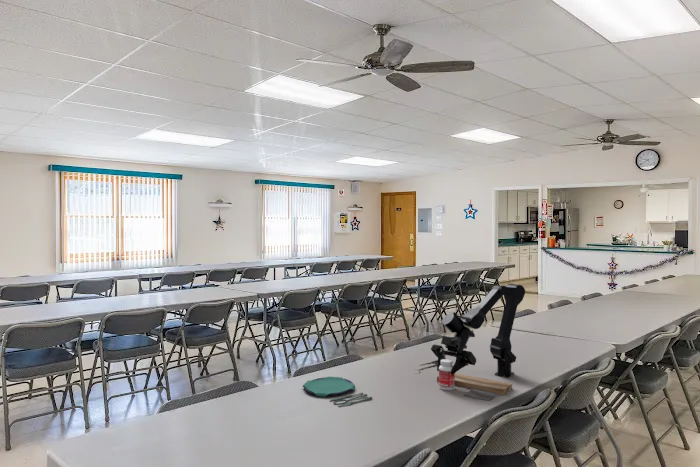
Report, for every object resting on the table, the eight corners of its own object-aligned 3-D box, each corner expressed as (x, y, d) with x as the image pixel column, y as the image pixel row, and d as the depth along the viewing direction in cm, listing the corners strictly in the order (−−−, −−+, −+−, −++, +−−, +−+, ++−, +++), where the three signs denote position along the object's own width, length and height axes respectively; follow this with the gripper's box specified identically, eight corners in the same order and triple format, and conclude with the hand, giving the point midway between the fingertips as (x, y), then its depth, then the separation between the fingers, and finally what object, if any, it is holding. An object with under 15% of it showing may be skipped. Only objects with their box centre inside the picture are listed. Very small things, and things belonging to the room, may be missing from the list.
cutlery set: (338, 378, 207) (338, 373, 207) (377, 400, 181) (377, 394, 181) (295, 387, 197) (295, 382, 197) (331, 412, 171) (330, 406, 171)
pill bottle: (452, 391, 187) (451, 363, 187) (436, 389, 190) (436, 361, 190) (456, 387, 193) (456, 359, 193) (442, 384, 196) (441, 357, 196)
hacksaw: (441, 361, 232) (441, 358, 232) (456, 366, 223) (456, 363, 223) (401, 369, 220) (401, 366, 220) (415, 375, 211) (415, 371, 211)
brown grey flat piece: (447, 376, 207) (447, 371, 207) (512, 388, 190) (512, 383, 190) (426, 387, 193) (426, 382, 193) (494, 402, 176) (494, 396, 176)
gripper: (433, 324, 201) (416, 356, 194) (471, 331, 187) (455, 365, 180) (444, 340, 206) (429, 371, 199) (483, 348, 193) (468, 382, 185)
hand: (444, 372), depth 191 cm, fingers closed on pill bottle, 6 cm apart
